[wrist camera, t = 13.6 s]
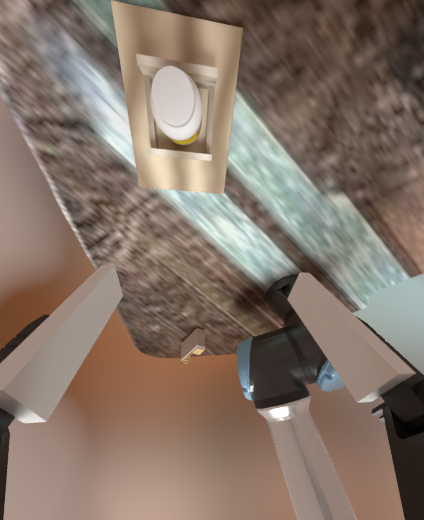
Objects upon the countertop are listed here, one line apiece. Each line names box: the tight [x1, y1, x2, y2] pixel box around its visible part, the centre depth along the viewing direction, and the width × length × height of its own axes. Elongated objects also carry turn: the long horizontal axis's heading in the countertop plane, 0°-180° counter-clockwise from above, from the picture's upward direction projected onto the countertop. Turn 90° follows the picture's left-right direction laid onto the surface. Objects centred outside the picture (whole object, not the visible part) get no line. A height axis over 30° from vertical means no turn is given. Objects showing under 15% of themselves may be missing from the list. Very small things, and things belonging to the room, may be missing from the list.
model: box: [181, 328, 205, 363], centre depth 54 cm, size 3×11×8 cm, turn 144°
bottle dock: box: [111, 0, 243, 194], centre depth 23 cm, size 16×20×5 cm
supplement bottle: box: [150, 66, 203, 146], centre depth 19 cm, size 6×6×11 cm
